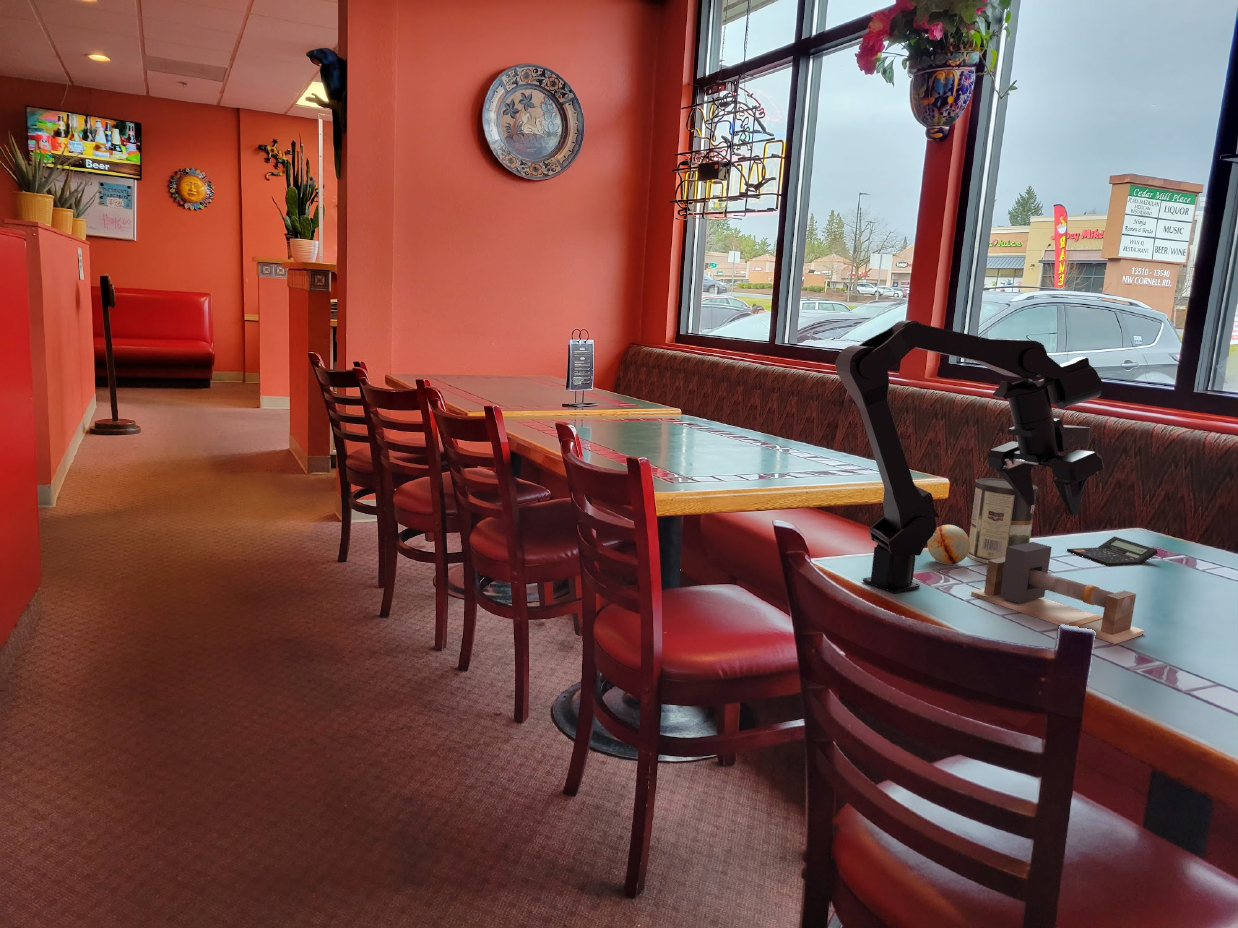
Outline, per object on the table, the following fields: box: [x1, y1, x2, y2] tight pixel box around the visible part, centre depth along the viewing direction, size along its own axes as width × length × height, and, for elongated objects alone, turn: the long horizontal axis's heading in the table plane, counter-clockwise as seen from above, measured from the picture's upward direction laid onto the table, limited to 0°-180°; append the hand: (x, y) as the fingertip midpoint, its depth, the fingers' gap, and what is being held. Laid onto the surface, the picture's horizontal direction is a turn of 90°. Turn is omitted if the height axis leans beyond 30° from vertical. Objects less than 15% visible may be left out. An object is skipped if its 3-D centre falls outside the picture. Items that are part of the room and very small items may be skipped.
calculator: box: [1066, 536, 1158, 567], centre depth 162 cm, size 9×12×3 cm
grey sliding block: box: [1000, 541, 1052, 603], centre depth 131 cm, size 3×7×8 cm, turn 124°
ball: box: [927, 524, 970, 566], centre depth 151 cm, size 7×7×7 cm
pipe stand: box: [970, 557, 1145, 645], centre depth 127 cm, size 22×8×6 cm, turn 34°
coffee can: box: [966, 477, 1039, 565], centre depth 156 cm, size 10×10×14 cm
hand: (1052, 510), depth 137 cm, fingers open, 9 cm apart
